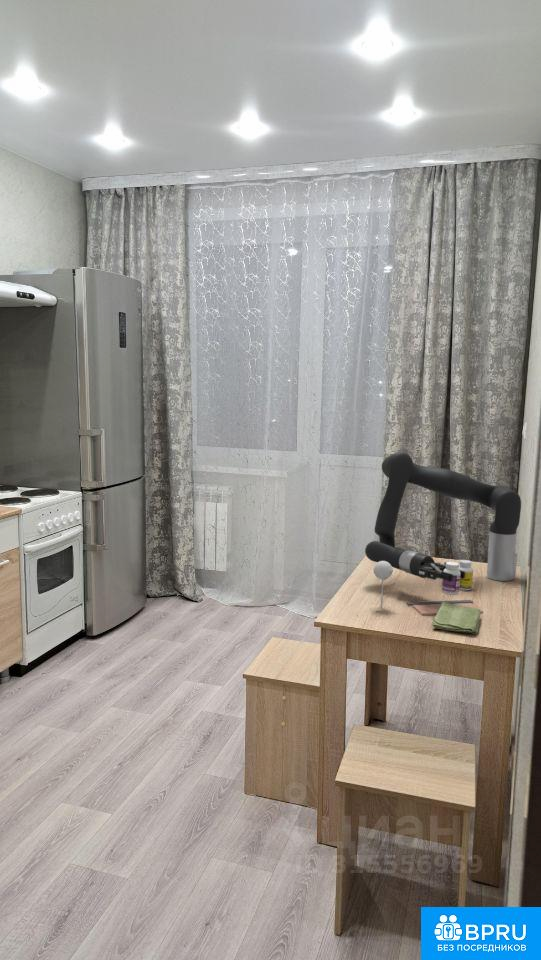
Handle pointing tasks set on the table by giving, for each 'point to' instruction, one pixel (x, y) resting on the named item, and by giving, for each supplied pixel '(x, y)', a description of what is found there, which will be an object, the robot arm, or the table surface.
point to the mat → (437, 606)
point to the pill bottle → (454, 585)
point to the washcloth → (457, 618)
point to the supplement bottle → (466, 575)
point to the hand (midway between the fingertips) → (458, 576)
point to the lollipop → (382, 573)
